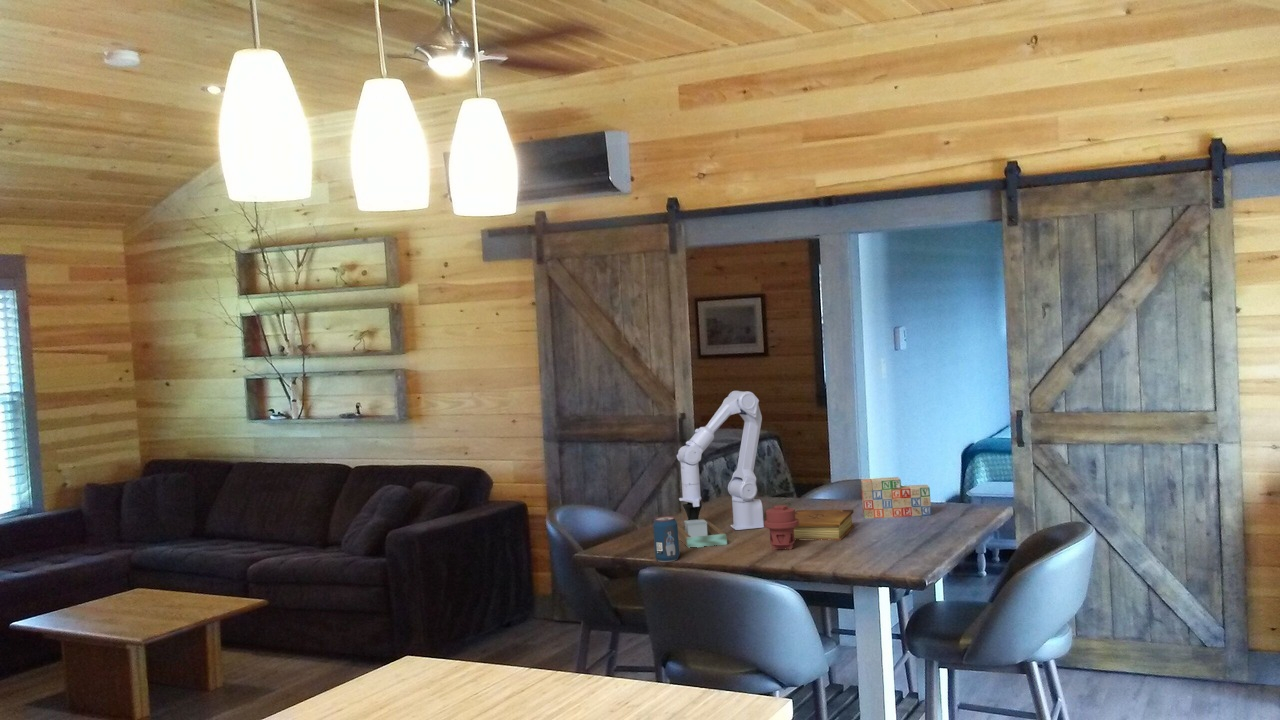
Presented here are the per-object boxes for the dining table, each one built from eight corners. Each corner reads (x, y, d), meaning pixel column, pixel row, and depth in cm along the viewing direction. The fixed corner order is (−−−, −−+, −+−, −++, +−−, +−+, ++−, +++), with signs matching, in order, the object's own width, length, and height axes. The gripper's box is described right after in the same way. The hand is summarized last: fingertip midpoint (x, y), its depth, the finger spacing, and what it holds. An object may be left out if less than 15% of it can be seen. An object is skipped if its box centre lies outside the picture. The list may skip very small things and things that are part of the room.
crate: (704, 534, 358) (703, 518, 357) (708, 538, 351) (707, 522, 351) (685, 536, 357) (684, 520, 357) (688, 539, 351) (687, 523, 350)
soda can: (665, 556, 327) (662, 515, 327) (684, 558, 323) (681, 516, 323) (650, 561, 322) (647, 519, 322) (669, 563, 318) (666, 520, 317)
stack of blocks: (929, 512, 370) (926, 475, 370) (931, 515, 364) (929, 477, 364) (862, 515, 373) (860, 478, 372) (864, 519, 366) (861, 481, 366)
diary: (796, 528, 362) (795, 510, 362) (854, 527, 355) (853, 509, 355) (779, 541, 340) (777, 522, 340) (840, 541, 334) (839, 522, 333)
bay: (707, 528, 367) (707, 519, 367) (727, 544, 339) (726, 534, 339) (671, 532, 365) (670, 523, 365) (687, 548, 337) (687, 538, 337)
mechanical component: (805, 549, 324) (773, 553, 321) (792, 543, 334) (760, 547, 331) (803, 506, 324) (770, 510, 321) (789, 502, 333) (757, 505, 331)
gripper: (674, 481, 365) (677, 523, 365) (682, 487, 350) (685, 531, 351) (695, 480, 366) (698, 521, 366) (704, 485, 351) (707, 529, 352)
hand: (693, 526), depth 358 cm, fingers closed
